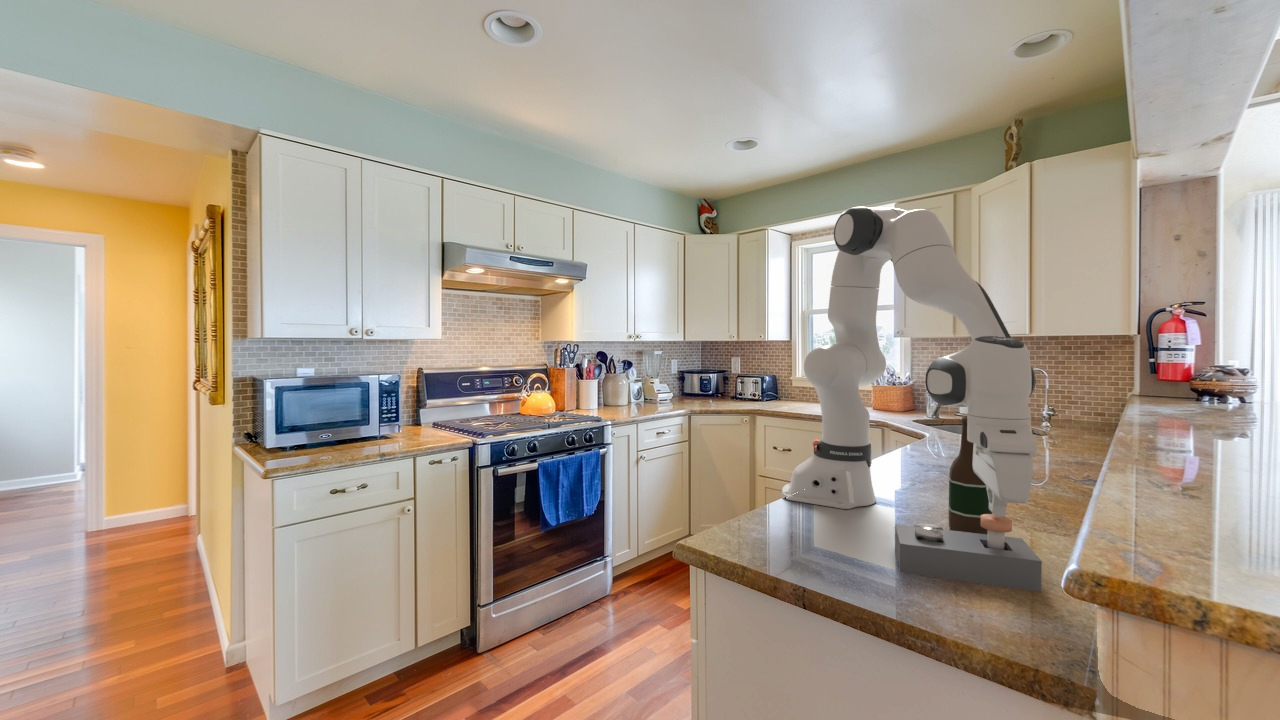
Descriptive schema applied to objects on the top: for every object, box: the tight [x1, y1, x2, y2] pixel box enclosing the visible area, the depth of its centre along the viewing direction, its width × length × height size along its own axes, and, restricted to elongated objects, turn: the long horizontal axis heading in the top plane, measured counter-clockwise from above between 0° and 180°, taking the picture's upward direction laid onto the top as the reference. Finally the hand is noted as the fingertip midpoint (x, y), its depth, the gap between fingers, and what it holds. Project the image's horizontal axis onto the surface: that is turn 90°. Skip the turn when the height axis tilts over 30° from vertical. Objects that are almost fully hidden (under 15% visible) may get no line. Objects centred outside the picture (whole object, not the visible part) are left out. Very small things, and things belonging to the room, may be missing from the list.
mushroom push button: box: [981, 514, 1013, 550], centre depth 88 cm, size 4×4×6 cm
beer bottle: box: [948, 416, 993, 534], centre depth 106 cm, size 8×8×24 cm
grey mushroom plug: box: [914, 522, 944, 542], centre depth 92 cm, size 4×4×6 cm
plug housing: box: [894, 523, 1043, 593], centre depth 90 cm, size 20×10×5 cm, turn 68°
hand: (997, 513), depth 87 cm, fingers closed
